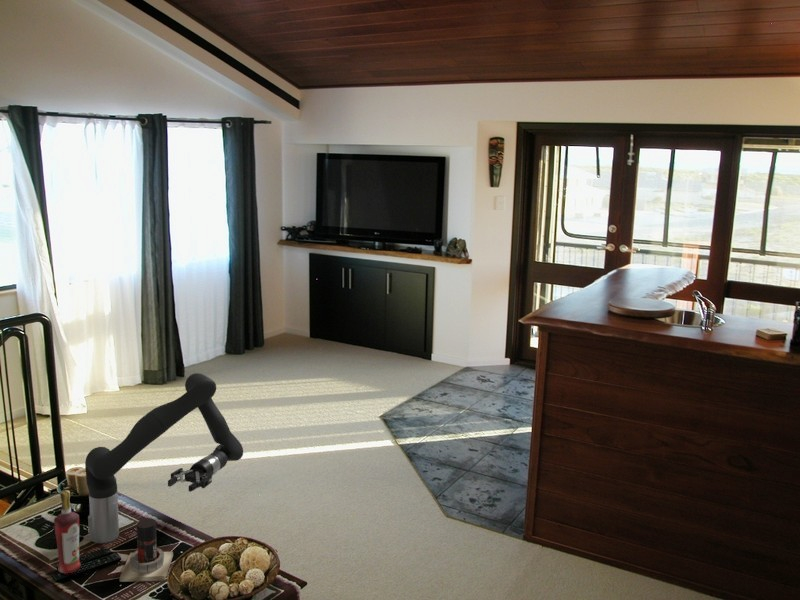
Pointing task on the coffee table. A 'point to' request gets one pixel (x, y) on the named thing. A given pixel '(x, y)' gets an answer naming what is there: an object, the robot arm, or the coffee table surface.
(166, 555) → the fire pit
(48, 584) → the coffee table surface
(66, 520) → the liquor
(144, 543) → the deodorant
